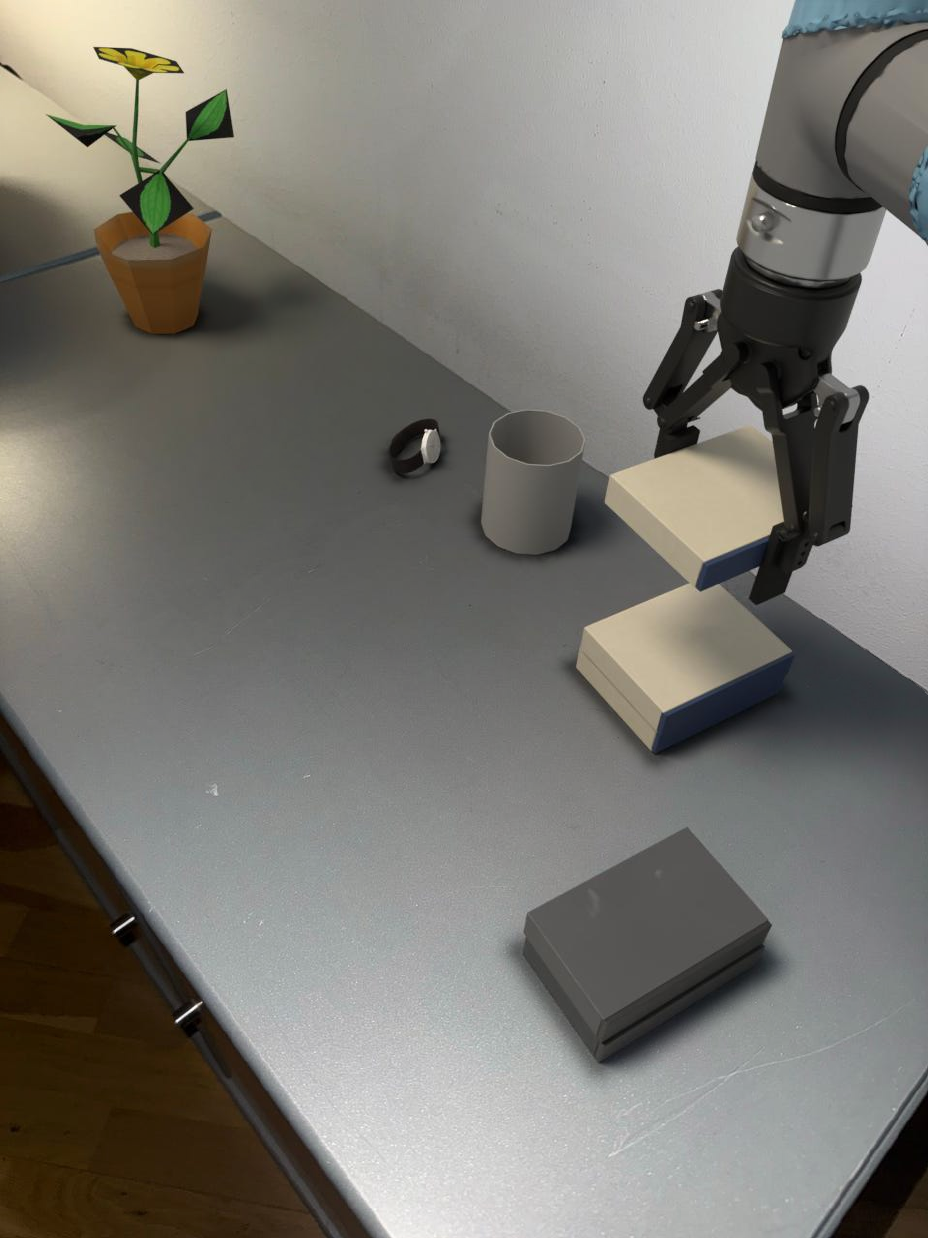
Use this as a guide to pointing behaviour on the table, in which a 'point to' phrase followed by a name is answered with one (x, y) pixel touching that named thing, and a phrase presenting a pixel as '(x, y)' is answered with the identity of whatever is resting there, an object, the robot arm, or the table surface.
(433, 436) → the watch
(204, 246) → the potted plant
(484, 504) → the cup
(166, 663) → the table surface
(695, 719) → the cream stack
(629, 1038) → the grey stack
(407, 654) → the table surface
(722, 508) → the cream book
